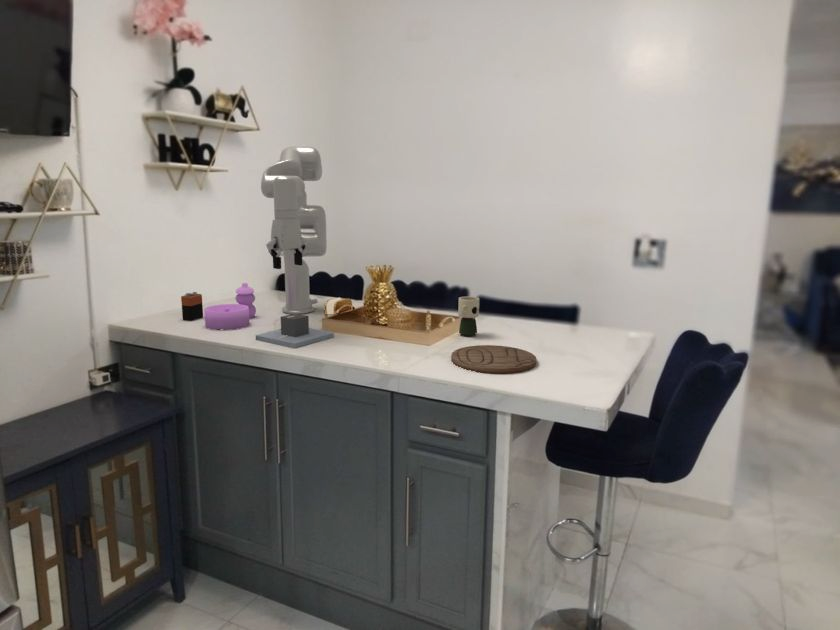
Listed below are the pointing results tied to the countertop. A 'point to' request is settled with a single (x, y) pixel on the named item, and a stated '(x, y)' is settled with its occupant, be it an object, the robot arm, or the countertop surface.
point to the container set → (232, 311)
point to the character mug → (468, 315)
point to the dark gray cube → (294, 325)
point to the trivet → (494, 359)
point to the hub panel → (294, 338)
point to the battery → (192, 306)
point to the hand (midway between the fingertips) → (288, 266)
